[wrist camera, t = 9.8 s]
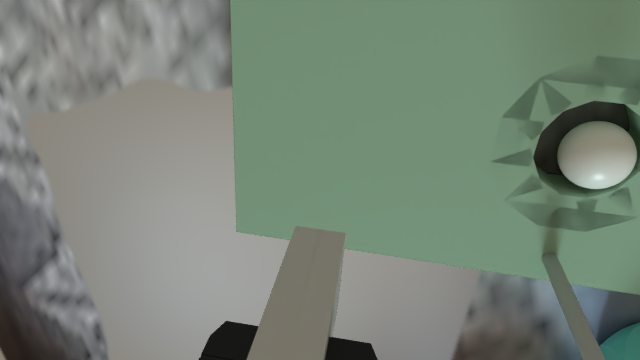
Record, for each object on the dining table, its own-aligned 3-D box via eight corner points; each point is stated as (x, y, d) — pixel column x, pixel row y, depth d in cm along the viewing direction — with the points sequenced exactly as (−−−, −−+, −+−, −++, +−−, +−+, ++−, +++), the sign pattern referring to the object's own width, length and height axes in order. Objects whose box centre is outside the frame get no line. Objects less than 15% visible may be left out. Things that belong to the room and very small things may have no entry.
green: (248, 211, 30) (133, 406, 18) (245, -63, 22) (38, -66, 10) (635, 269, 27) (830, 552, 15) (782, -22, 20) (1448, 48, 7)
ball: (562, 205, 23) (628, 196, 23) (591, 169, 20) (666, 158, 20) (537, 152, 25) (598, 143, 25) (561, 111, 22) (630, 102, 22)
